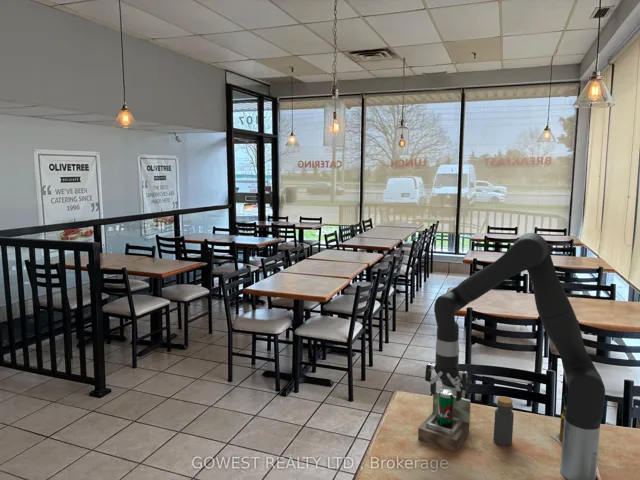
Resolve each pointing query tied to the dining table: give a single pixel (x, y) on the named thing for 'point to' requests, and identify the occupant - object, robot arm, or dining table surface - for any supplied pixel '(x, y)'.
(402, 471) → the dining table surface
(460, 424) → the display stand
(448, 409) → the soda can
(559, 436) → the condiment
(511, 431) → the bottle
